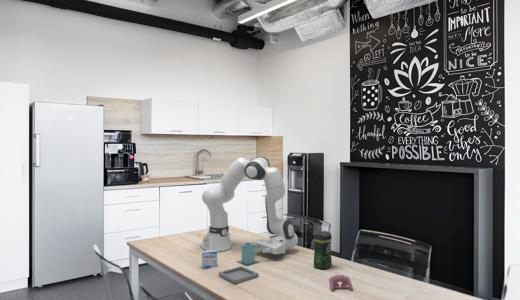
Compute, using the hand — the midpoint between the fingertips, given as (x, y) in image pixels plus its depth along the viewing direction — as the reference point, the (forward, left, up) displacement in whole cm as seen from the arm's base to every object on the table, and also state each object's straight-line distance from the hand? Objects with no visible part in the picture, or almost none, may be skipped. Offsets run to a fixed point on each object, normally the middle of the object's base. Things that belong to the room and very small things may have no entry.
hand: (256, 249), depth 201 cm
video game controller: (+55, +3, -7) cm, 56 cm away
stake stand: (0, -6, -7) cm, 9 cm away
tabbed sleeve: (0, -6, -6) cm, 9 cm away
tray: (+13, -22, -7) cm, 27 cm away
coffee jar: (+31, +20, -7) cm, 37 cm away
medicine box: (-9, -25, -7) cm, 28 cm away
